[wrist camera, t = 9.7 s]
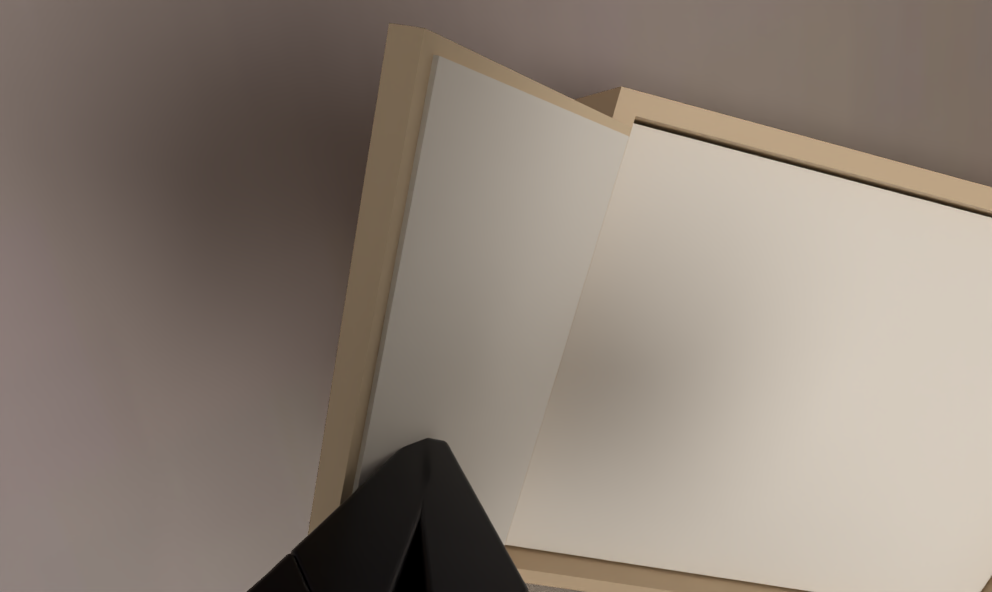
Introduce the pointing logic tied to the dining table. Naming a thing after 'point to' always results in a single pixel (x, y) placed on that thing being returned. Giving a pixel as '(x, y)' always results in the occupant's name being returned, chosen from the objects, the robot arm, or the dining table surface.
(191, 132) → the dining table surface
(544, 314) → the flap
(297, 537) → the dining table surface
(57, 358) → the dining table surface
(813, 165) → the carton
